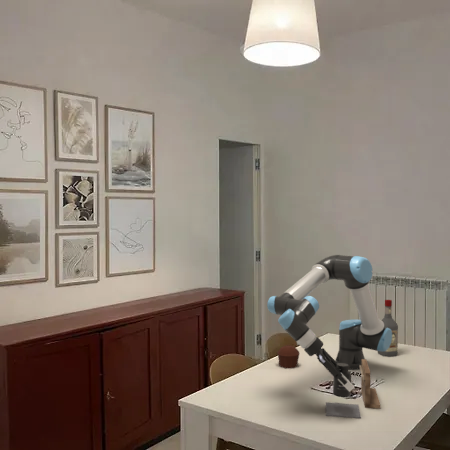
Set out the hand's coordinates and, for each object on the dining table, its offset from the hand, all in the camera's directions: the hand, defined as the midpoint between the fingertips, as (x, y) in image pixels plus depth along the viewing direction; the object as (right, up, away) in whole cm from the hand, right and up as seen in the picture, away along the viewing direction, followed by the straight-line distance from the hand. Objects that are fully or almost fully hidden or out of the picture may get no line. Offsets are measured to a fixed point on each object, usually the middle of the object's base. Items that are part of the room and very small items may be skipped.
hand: (351, 386), depth 210 cm
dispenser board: (+11, -10, +14) cm, 20 cm away
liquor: (+40, -8, +84) cm, 93 cm away
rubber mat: (-3, -10, +1) cm, 11 cm away
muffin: (-18, -8, +61) cm, 64 cm away
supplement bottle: (-4, -4, +1) cm, 5 cm away
